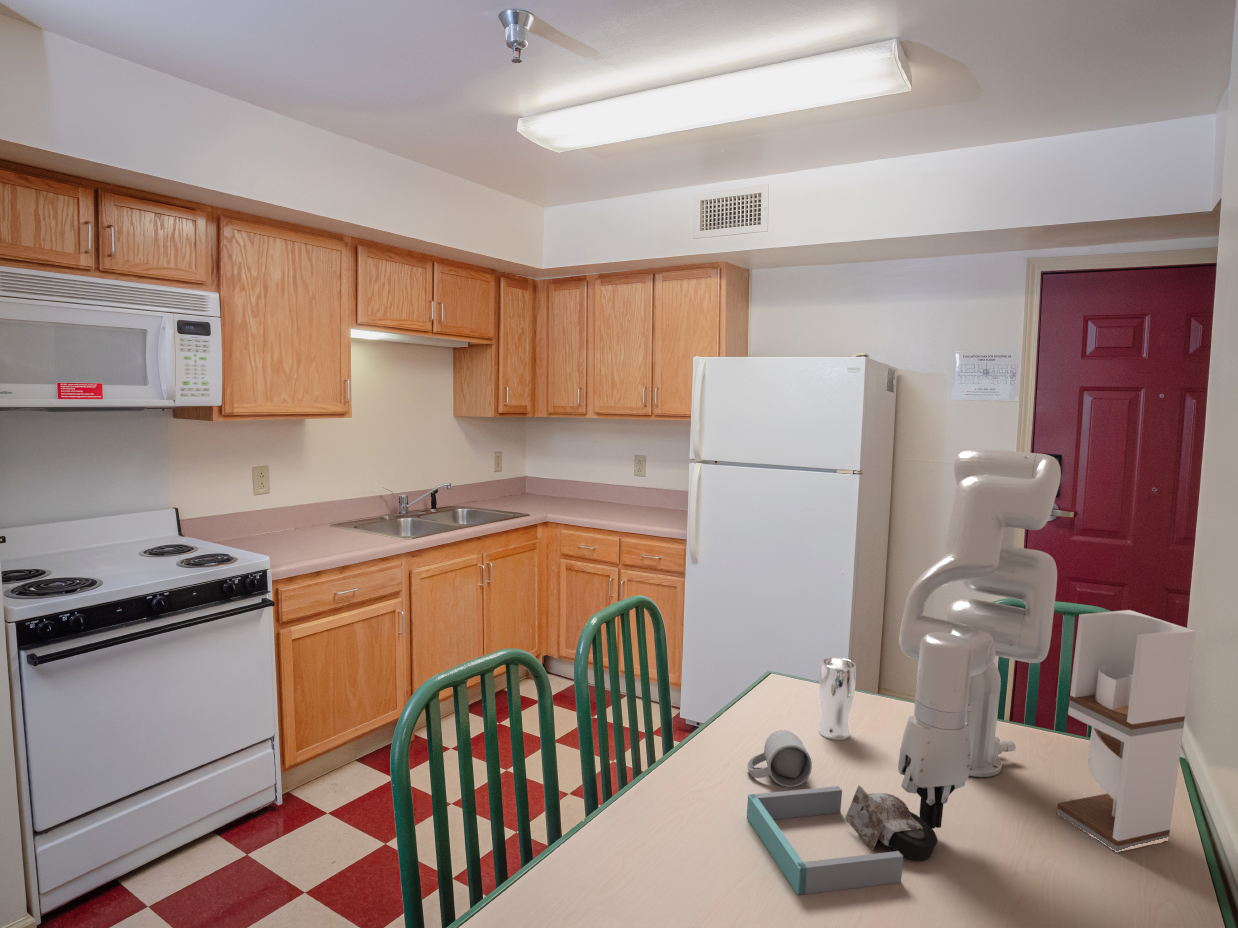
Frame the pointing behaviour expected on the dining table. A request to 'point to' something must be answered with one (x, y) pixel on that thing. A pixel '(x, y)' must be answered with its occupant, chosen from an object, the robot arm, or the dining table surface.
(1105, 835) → the white shelf stand
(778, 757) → the ceramic mug
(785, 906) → the dining table surface
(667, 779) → the dining table surface
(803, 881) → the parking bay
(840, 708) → the beer glass
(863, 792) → the caster wheel
